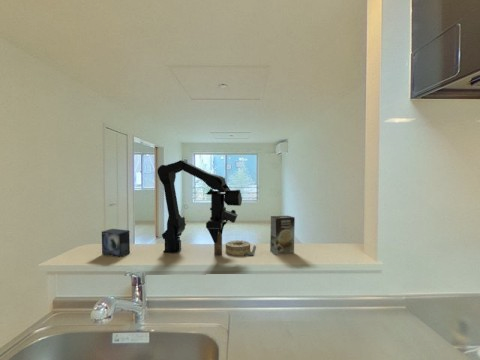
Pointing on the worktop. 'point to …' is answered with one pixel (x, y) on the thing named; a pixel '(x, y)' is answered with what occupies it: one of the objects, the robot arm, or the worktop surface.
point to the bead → (238, 247)
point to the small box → (115, 242)
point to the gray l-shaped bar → (252, 252)
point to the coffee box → (282, 234)
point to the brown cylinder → (218, 246)
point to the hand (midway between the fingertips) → (217, 240)
